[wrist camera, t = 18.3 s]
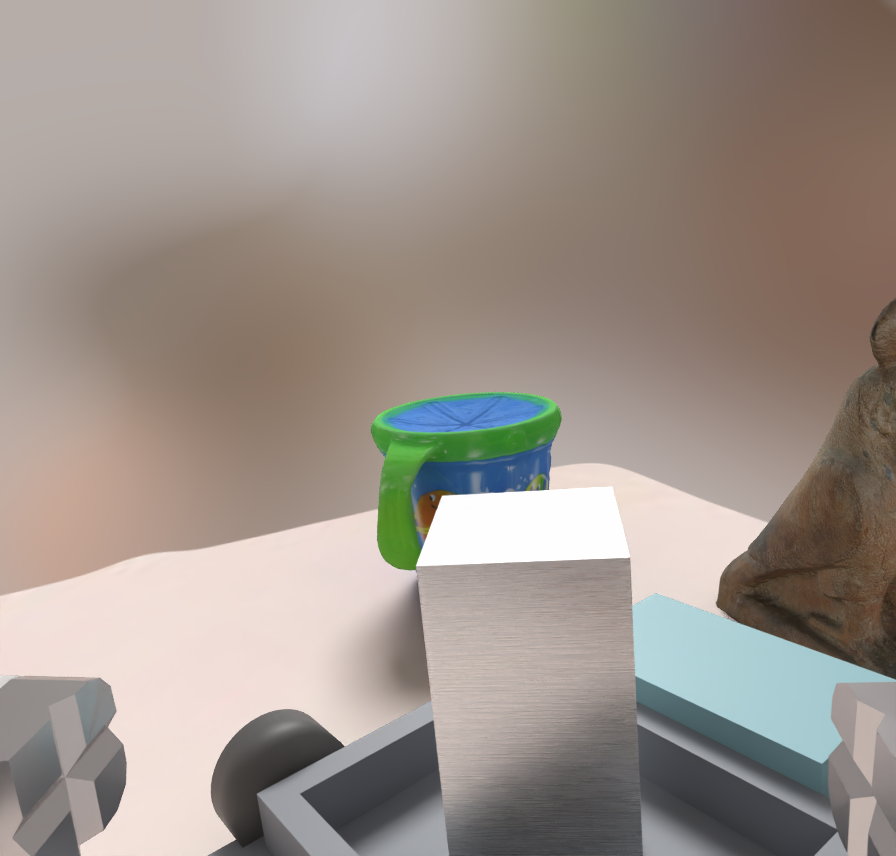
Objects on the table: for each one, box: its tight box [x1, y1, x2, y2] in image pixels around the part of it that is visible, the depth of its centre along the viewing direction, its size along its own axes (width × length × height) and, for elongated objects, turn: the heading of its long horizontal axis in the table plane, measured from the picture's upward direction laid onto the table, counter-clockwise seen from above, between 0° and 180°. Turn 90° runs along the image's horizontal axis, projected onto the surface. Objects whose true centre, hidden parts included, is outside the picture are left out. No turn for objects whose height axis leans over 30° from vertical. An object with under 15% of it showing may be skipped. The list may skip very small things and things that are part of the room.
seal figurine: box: [716, 299, 896, 680], centre depth 34 cm, size 12×6×18 cm, turn 12°
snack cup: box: [371, 392, 561, 573], centre depth 47 cm, size 16×10×10 cm
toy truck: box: [208, 593, 896, 856], centre depth 25 cm, size 20×19×4 cm
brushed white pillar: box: [416, 487, 643, 856], centre depth 22 cm, size 5×5×11 cm
